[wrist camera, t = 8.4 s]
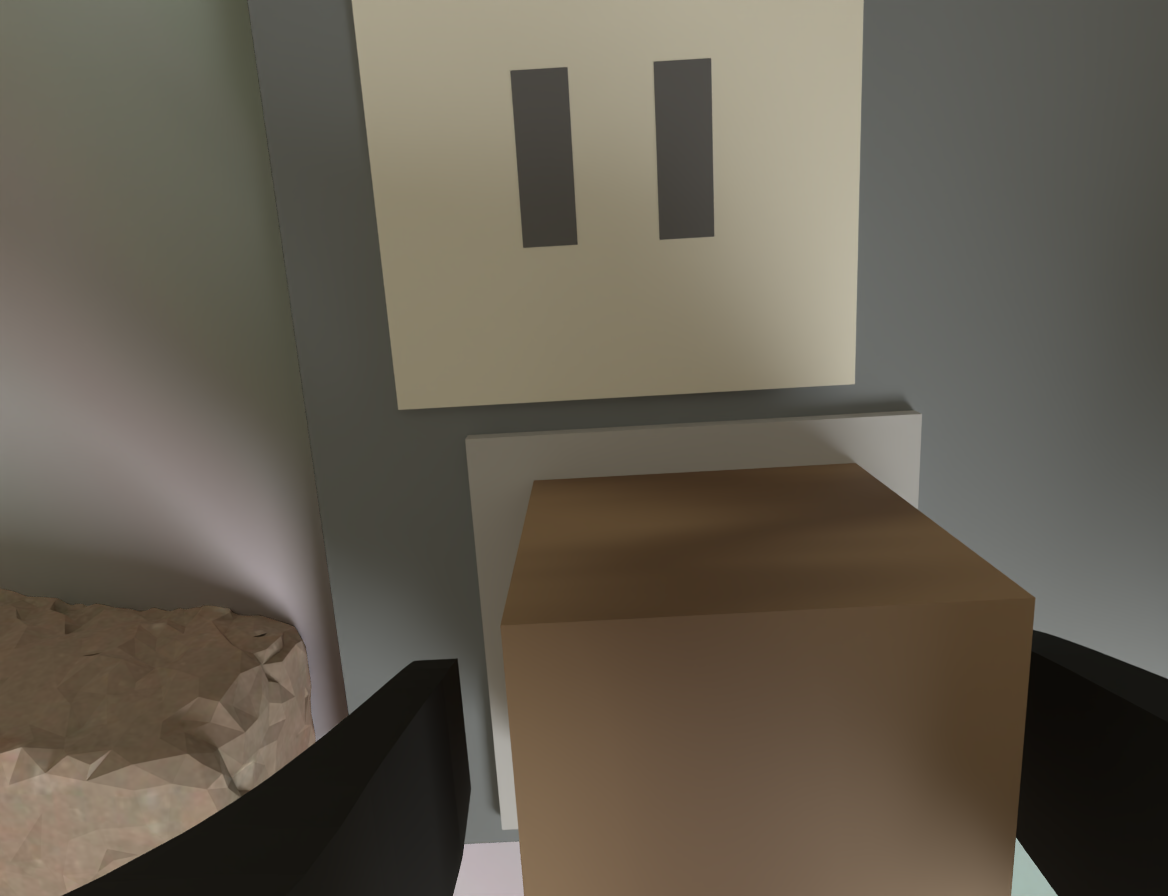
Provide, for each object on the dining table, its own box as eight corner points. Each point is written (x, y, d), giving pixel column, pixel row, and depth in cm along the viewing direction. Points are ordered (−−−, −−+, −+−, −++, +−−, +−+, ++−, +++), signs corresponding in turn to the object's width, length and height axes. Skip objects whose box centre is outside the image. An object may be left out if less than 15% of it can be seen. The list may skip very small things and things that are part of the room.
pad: (913, 410, 12) (922, 413, 12) (898, 798, 14) (904, 810, 14) (467, 435, 12) (465, 439, 12) (503, 817, 14) (502, 829, 14)
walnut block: (855, 462, 12) (1036, 598, 7) (848, 748, 13) (1000, 1028, 8) (533, 480, 12) (499, 625, 7) (555, 762, 13) (538, 1047, 9)
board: (1341, -964, 10) (1468, -1171, 8) (1133, 766, 15) (1188, 817, 14) (159, -871, 10) (90, -1054, 8) (384, 803, 15) (364, 857, 14)
